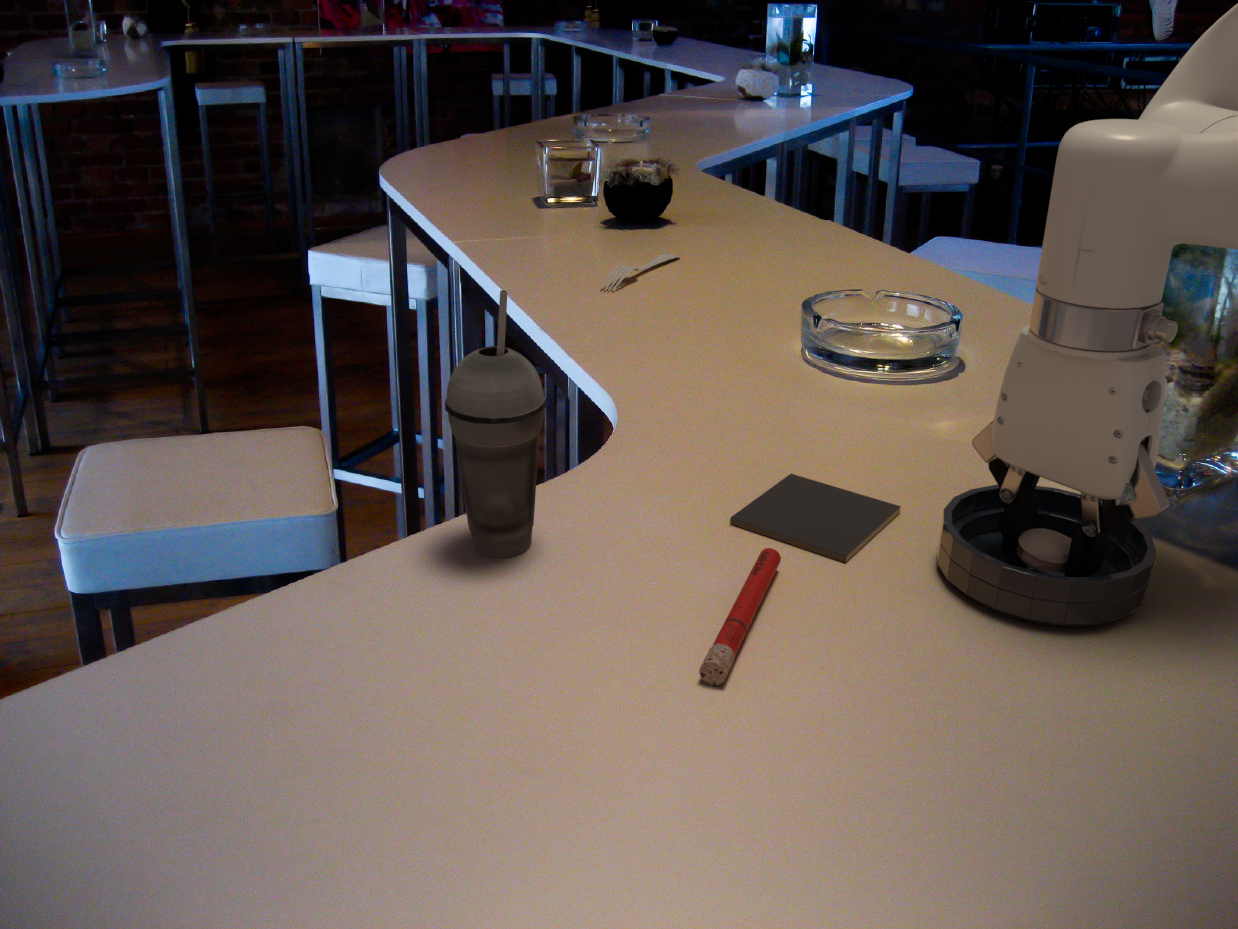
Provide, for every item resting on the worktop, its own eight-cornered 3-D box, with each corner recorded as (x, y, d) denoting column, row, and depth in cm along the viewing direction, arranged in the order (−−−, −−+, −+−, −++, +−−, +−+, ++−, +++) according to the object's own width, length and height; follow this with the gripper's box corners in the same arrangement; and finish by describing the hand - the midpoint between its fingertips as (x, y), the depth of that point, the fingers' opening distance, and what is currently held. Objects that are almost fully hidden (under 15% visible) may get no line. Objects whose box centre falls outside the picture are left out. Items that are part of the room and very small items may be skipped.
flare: (698, 682, 67) (699, 659, 67) (758, 566, 80) (759, 546, 79) (724, 688, 67) (726, 665, 66) (780, 570, 79) (782, 550, 79)
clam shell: (1009, 548, 81) (1014, 518, 79) (1079, 552, 80) (1085, 522, 79) (1021, 578, 77) (1026, 547, 76) (1095, 582, 76) (1101, 551, 75)
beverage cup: (497, 511, 87) (486, 267, 79) (568, 538, 84) (565, 285, 75) (433, 547, 82) (414, 290, 73) (506, 578, 78) (494, 310, 70)
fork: (682, 273, 160) (683, 254, 159) (615, 293, 143) (616, 272, 142) (664, 271, 161) (666, 252, 160) (596, 290, 144) (597, 269, 143)
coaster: (790, 479, 93) (790, 473, 93) (900, 512, 88) (900, 506, 87) (729, 523, 86) (730, 517, 86) (845, 563, 80) (846, 556, 80)
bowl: (1008, 512, 88) (1016, 468, 86) (1181, 586, 78) (1194, 537, 76) (896, 568, 80) (903, 520, 78) (1073, 658, 70) (1085, 605, 68)
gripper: (1253, 340, 67) (1188, 593, 75) (1011, 281, 79) (978, 505, 87) (1193, 368, 62) (1132, 632, 70) (948, 301, 74) (919, 534, 82)
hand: (1047, 559), depth 78 cm, fingers closed on clam shell, 4 cm apart
